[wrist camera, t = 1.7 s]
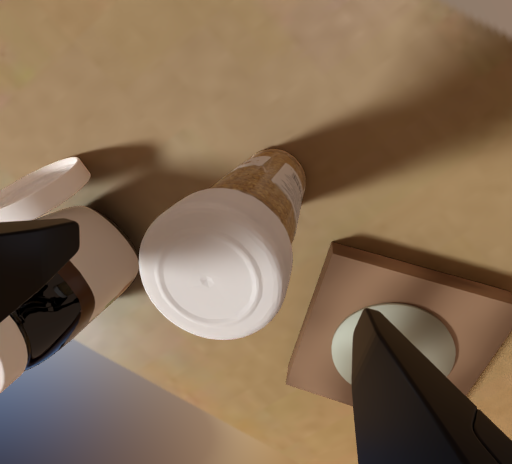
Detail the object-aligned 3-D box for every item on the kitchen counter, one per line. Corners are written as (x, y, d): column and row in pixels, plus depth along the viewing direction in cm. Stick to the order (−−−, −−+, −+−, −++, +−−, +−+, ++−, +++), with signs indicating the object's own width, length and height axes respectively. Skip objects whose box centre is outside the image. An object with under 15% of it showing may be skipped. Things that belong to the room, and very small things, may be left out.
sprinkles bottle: (246, 142, 20) (132, 187, 8) (314, 155, 20) (303, 224, 8) (237, 207, 22) (131, 325, 10) (299, 220, 22) (270, 363, 9)
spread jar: (99, 313, 29) (-32, 432, 18) (5, 223, 27) (-202, 295, 16) (181, 241, 24) (71, 343, 13) (74, 127, 22) (-149, 140, 12)
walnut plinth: (508, 291, 20) (530, 311, 18) (430, 411, 25) (440, 438, 23) (331, 241, 22) (332, 255, 20) (288, 365, 26) (285, 387, 24)
